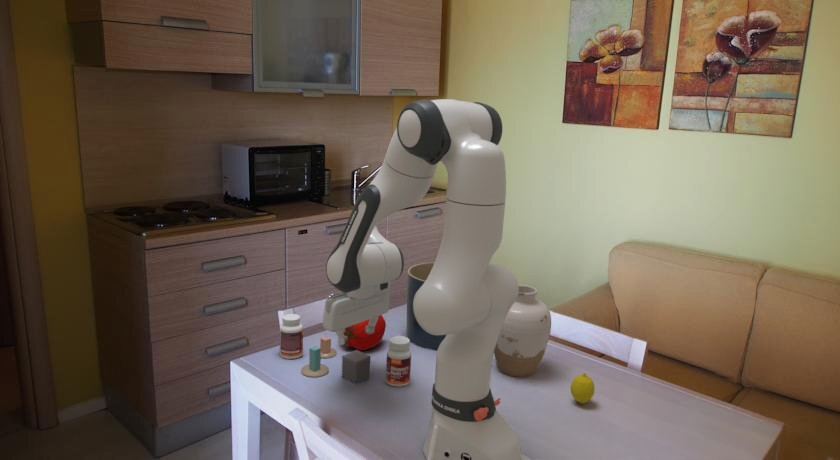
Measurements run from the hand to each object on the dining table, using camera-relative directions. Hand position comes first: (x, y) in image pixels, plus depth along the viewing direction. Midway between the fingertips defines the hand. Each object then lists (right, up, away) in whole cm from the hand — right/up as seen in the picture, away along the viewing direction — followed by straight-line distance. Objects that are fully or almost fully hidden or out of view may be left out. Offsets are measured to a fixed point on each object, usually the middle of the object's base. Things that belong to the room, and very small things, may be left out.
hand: (356, 338), depth 152 cm
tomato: (-1, -6, +22) cm, 23 cm away
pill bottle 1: (-19, -7, +14) cm, 25 cm away
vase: (+42, -11, +12) cm, 45 cm away
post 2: (-10, -7, +15) cm, 20 cm away
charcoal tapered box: (0, -11, +2) cm, 11 cm away
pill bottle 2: (+10, -12, +1) cm, 15 cm away
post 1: (-11, -9, +5) cm, 15 cm away
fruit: (+55, -15, -5) cm, 57 cm away
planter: (+22, -5, +31) cm, 39 cm away
